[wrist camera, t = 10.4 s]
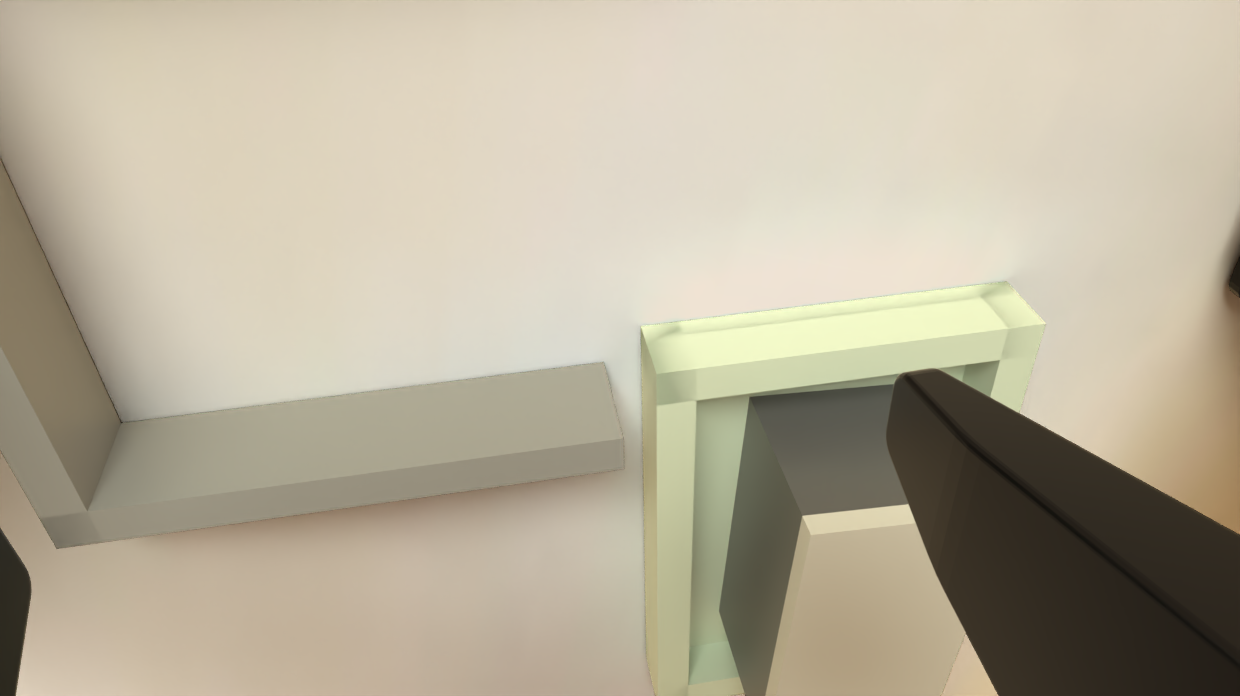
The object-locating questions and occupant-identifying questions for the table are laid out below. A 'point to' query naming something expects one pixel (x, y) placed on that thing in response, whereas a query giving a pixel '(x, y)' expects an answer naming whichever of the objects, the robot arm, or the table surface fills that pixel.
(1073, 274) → the table surface
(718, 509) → the tray
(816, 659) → the beige gray rectangular block
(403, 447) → the bay
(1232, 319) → the table surface
